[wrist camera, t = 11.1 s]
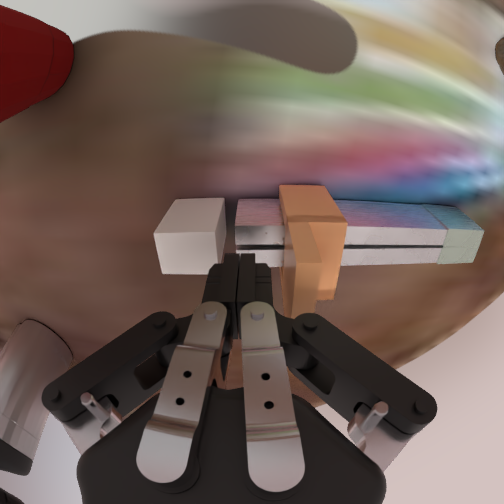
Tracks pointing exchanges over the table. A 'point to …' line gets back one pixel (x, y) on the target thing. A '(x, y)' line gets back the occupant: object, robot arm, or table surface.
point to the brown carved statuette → (500, 54)
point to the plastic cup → (30, 61)
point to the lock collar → (310, 247)
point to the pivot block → (191, 236)
